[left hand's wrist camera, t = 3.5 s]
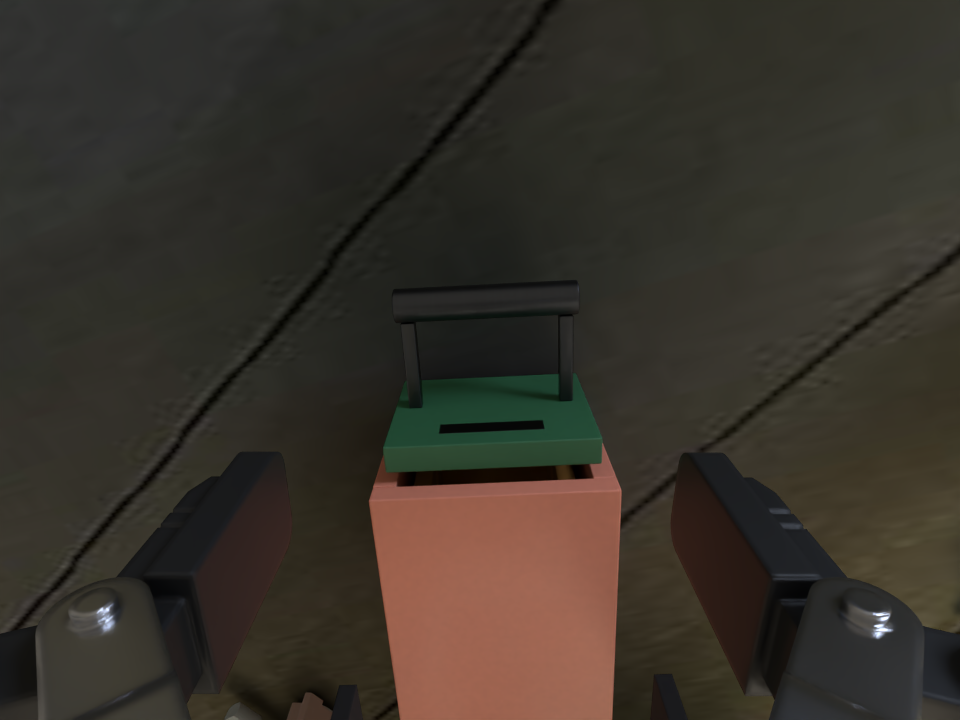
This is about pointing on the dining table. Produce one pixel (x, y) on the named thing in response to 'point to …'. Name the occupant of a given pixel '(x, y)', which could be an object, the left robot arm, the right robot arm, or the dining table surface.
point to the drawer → (490, 396)
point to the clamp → (305, 716)
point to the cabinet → (500, 594)
